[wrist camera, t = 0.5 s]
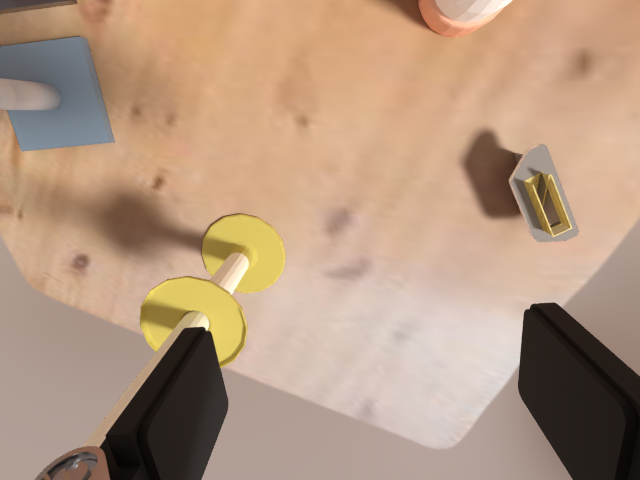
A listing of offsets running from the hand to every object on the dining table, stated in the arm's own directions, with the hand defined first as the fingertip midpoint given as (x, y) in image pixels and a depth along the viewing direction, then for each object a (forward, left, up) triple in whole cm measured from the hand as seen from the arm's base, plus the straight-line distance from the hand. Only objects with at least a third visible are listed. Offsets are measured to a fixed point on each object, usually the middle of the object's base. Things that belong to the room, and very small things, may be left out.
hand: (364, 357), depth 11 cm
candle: (+8, -13, -30) cm, 33 cm away
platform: (+2, +18, -31) cm, 36 cm away
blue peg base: (-11, -30, -30) cm, 44 cm away
